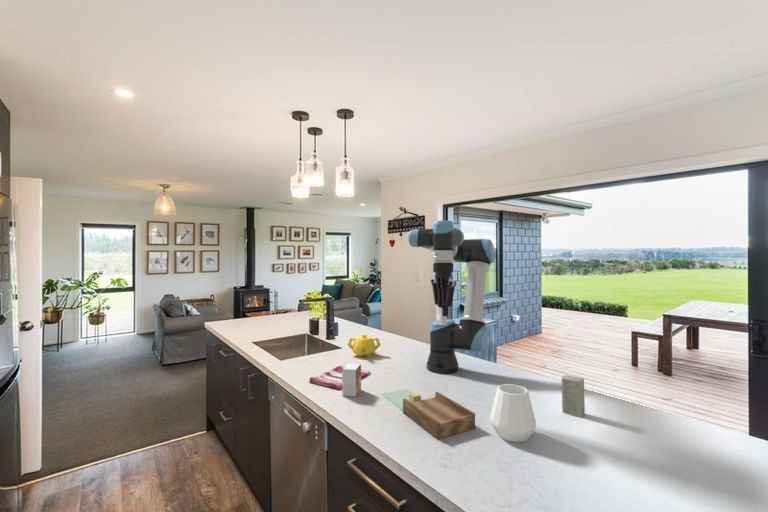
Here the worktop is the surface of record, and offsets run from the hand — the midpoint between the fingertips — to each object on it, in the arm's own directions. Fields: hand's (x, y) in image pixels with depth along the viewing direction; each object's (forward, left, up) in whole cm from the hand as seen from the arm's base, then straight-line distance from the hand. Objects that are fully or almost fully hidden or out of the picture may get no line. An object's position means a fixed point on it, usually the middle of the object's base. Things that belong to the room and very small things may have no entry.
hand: (443, 324), depth 136 cm
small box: (+28, -22, -29) cm, 46 cm away
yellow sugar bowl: (+2, -68, -29) cm, 74 cm away
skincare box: (-33, +30, -29) cm, 53 cm away
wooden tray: (+12, +13, -28) cm, 33 cm away
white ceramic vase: (-3, +31, -29) cm, 42 cm away
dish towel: (+26, -40, -29) cm, 56 cm away
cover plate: (+12, -6, -29) cm, 32 cm away
